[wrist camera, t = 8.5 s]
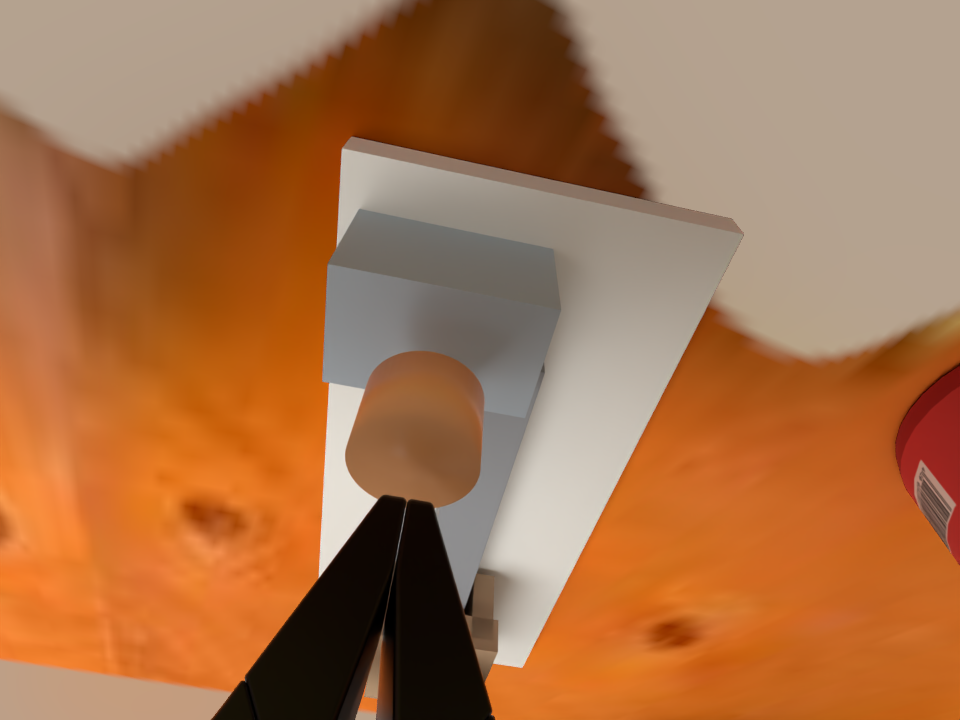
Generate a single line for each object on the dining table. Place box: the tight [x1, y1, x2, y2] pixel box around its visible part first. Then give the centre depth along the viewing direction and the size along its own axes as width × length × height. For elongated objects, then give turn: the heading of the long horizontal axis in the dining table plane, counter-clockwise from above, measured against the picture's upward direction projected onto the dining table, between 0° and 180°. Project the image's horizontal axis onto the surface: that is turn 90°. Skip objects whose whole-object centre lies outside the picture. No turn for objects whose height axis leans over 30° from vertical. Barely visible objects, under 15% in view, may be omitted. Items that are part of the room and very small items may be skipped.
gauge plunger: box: [345, 351, 485, 508], centre depth 11 cm, size 2×2×2 cm
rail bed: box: [319, 137, 744, 668], centre depth 20 cm, size 23×10×4 cm, turn 169°
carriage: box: [364, 561, 498, 699], centre depth 21 cm, size 5×4×8 cm
